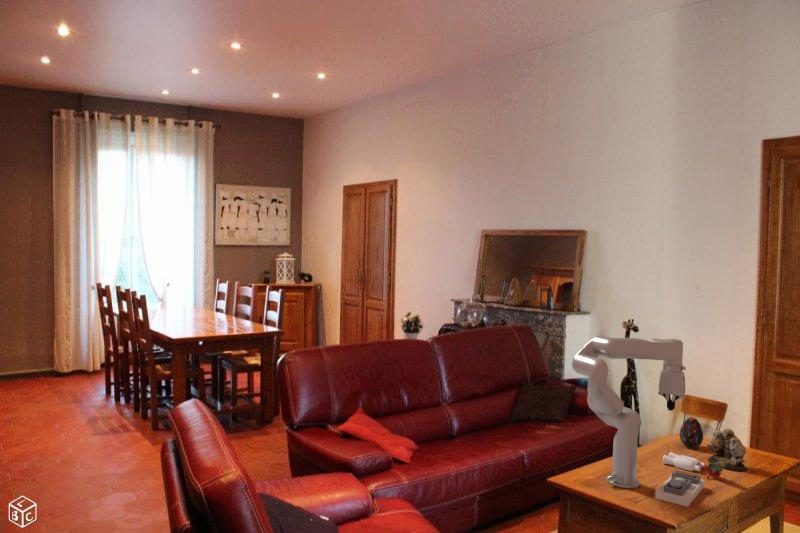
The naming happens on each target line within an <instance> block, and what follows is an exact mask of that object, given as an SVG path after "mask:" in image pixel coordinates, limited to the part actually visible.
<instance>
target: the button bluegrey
mask: <svg viewBox="0 0 800 533" xmlns="http://www.w3.org/2000/svg"><path fill="white" fill-rule="evenodd" d="M670 486H671V487H673V488H681V481H679V480H676V479H671V480H670Z"/></svg>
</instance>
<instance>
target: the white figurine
mask: <svg viewBox="0 0 800 533" xmlns="http://www.w3.org/2000/svg"><path fill="white" fill-rule="evenodd" d="M662 464H664V465H671V466H674V467H675V468H677V469H680V470H684V471H687V472H694V471H695V472H701V470H702V469H701V467H703V466H705V465H706V466H707V463H705V465H704V462H701V461H700V460H698V459H697V458H695V457H692V456H687V455H683V454H682V455H680V454H679V455H678V454H677V453H674V452H673V451H670V452H669V453H668V455H666V454H664V455H663V457H662ZM703 469H704V470H705V468H703Z"/></svg>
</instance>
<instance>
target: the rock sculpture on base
mask: <svg viewBox="0 0 800 533" xmlns="http://www.w3.org/2000/svg"><path fill="white" fill-rule="evenodd" d="M706 448H708V449H709V451H710V452H713V453H716V454H713V455H711V456H710V457H708V458H707V461H708V464H709V463H717V462H718V461H722V462H724V463H725V464H726V466H725V468H724V469H723V470H727V471H732V472H738V473H739V472H741V473H743V472H746V471H747V470H748V469H747V466H746V465H745V464H744V463H745V462H746V461H745V459H744V457H745V455H746V452H747V451H746V446H745V445H744V444H743V443H742V441H741V440H740V439H739V438H738V436H737V435H735V432H734V430H732V429H731V428H724V429H723V430H719V429H718V430H714V431H713V433H712V437H711V440H710V443H709V444H708V443H707V444H706Z"/></svg>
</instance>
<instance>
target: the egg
mask: <svg viewBox="0 0 800 533" xmlns="http://www.w3.org/2000/svg"><path fill="white" fill-rule="evenodd" d="M679 439H680V442H681V443H682V444H683V446H684V448H687V449H695V450H696V449H698V448H699V446H701V444H702V443H703V442H704V430H703V427H702V426H701V424H700V422H699V420H698V419H697V418H696V417H693V416H691V417H688V418H687V419H685V421H683V423H682V425H681V427H680V430H679Z"/></svg>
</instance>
